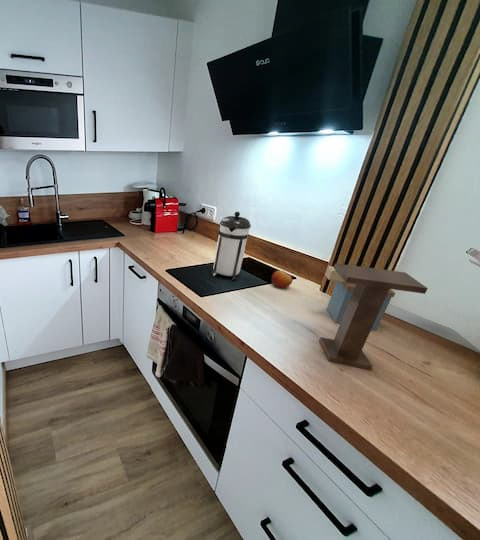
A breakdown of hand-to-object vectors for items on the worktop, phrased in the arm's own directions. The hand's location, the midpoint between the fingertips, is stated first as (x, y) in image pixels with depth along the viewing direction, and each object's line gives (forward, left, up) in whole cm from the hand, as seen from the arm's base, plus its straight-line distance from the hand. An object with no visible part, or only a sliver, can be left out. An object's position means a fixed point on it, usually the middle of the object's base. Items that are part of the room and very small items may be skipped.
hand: (458, 245), depth 84 cm
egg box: (+18, 0, -16) cm, 24 cm away
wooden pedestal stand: (+27, +24, -30) cm, 47 cm away
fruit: (+38, -20, -31) cm, 53 cm away
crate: (+18, 0, -30) cm, 36 cm away
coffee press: (+61, -25, -31) cm, 73 cm away
